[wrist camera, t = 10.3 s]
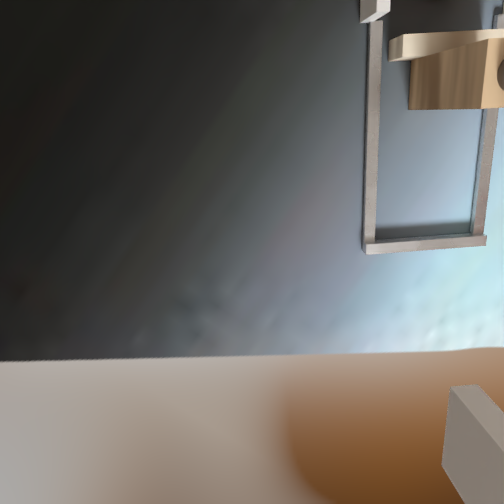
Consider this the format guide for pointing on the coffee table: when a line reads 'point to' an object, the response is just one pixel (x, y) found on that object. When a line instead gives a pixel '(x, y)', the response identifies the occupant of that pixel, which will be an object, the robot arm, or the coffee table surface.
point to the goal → (376, 9)
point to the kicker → (453, 68)
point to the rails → (371, 166)
